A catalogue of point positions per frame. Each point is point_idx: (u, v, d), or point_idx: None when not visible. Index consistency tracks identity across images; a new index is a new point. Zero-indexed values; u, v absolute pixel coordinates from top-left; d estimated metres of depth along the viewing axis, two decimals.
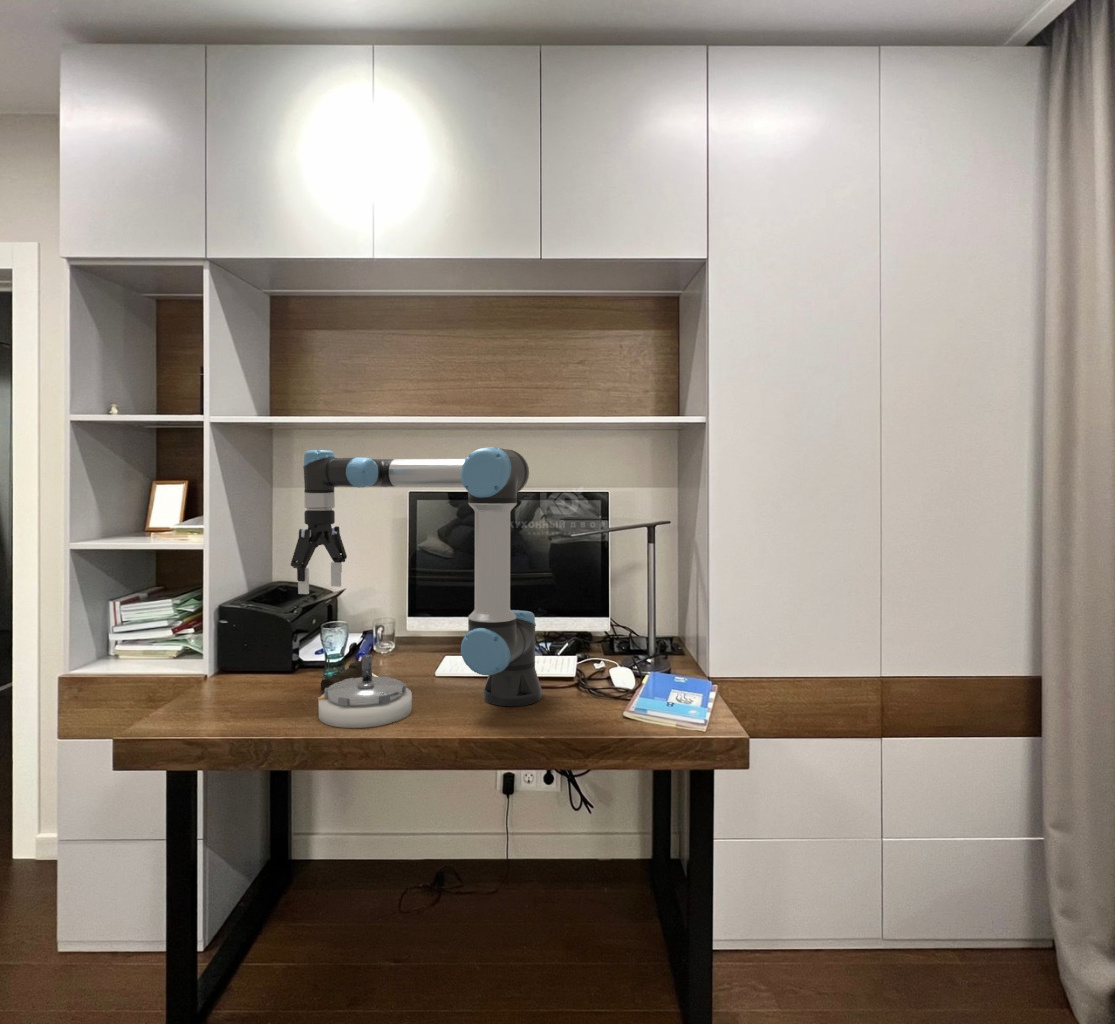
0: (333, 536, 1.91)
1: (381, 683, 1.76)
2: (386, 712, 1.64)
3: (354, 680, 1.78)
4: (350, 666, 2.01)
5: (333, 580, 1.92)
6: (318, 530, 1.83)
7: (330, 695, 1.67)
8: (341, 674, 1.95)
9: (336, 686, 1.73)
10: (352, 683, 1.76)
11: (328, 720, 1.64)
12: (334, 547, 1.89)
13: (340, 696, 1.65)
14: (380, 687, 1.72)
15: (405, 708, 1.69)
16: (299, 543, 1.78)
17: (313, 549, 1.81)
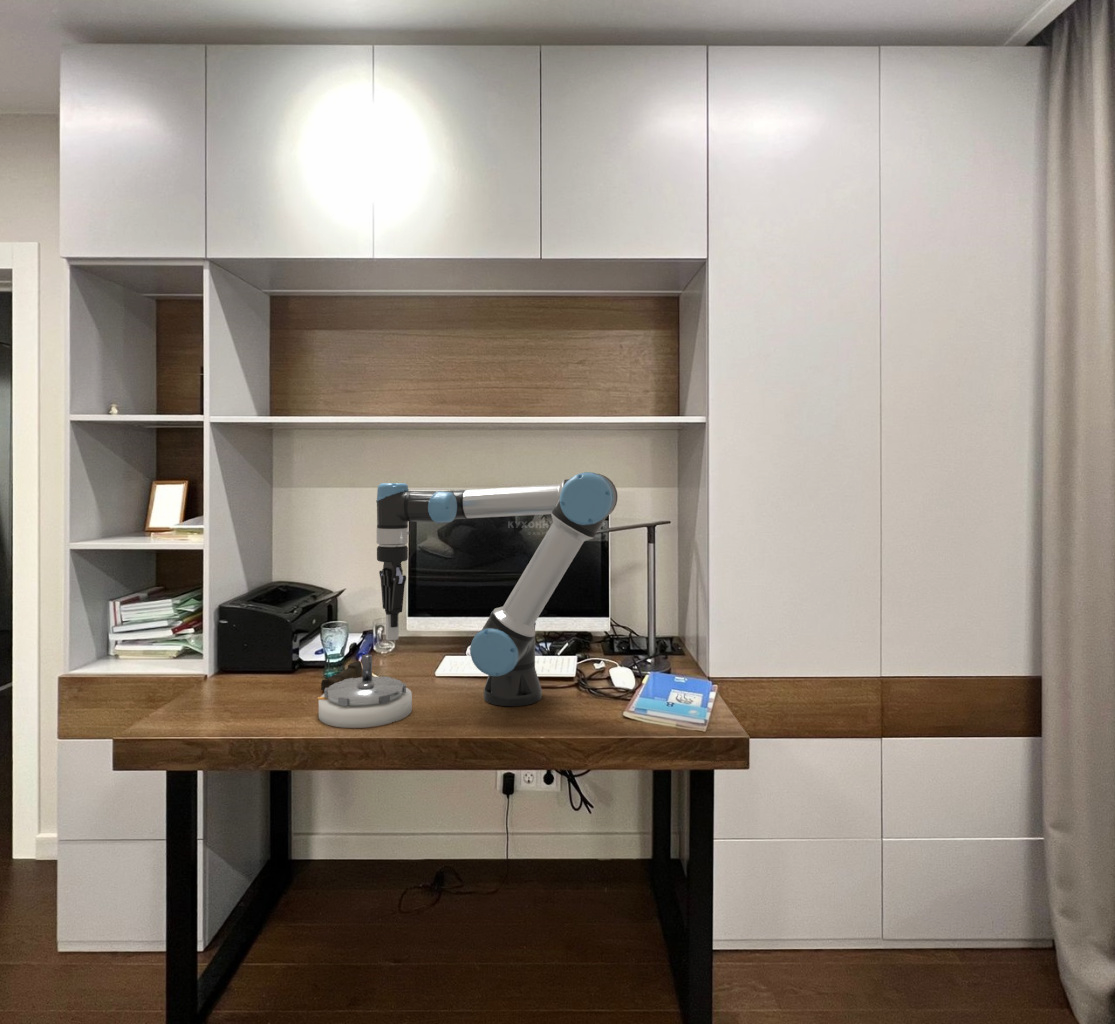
0: None
1: (381, 683, 1.76)
2: (386, 712, 1.64)
3: (354, 680, 1.78)
4: (349, 666, 2.01)
5: None
6: (384, 563, 1.77)
7: (330, 695, 1.67)
8: (341, 674, 1.95)
9: (336, 686, 1.73)
10: (352, 683, 1.76)
11: (328, 720, 1.64)
12: (389, 592, 1.74)
13: (340, 696, 1.65)
14: (380, 687, 1.72)
15: (405, 708, 1.69)
16: None
17: (385, 589, 1.76)
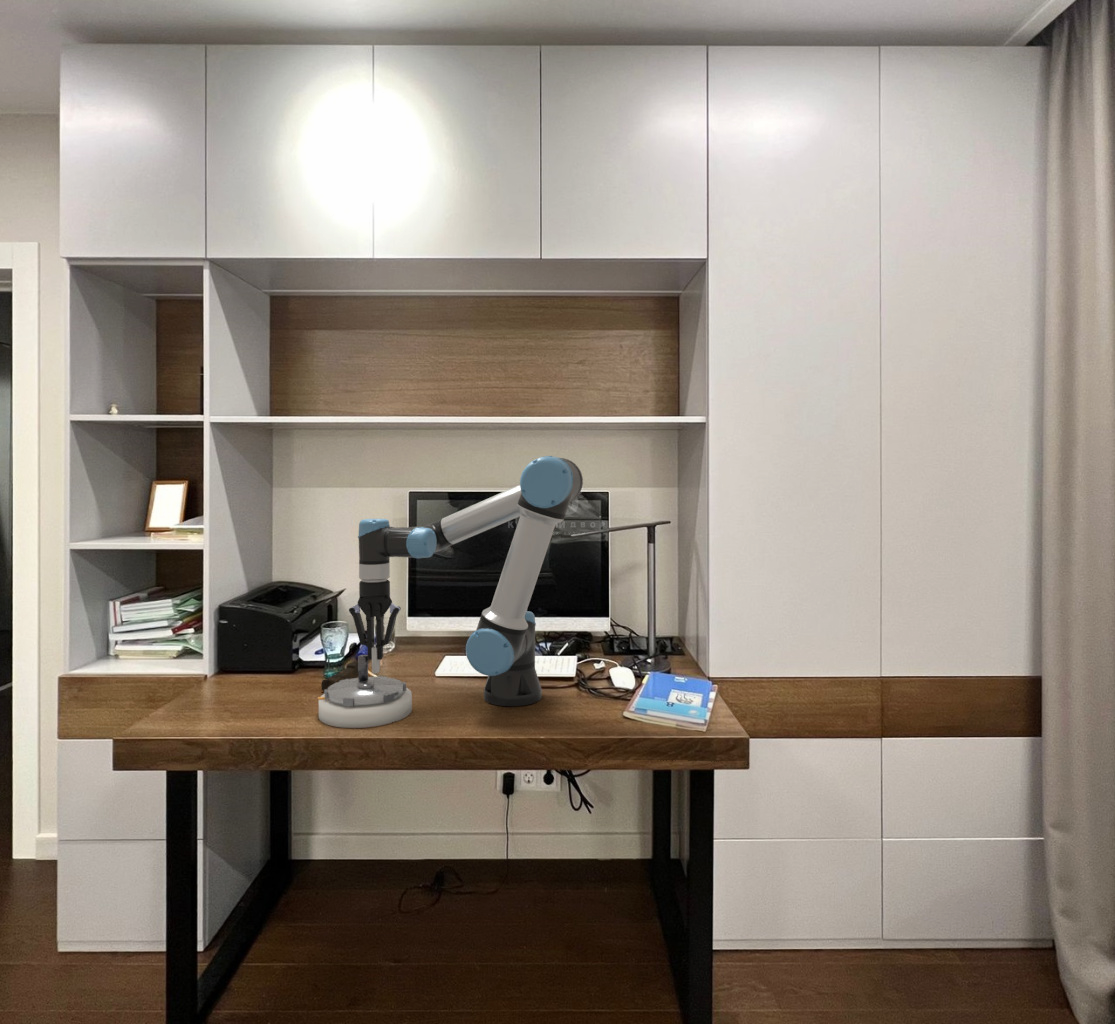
0: None
1: (380, 683, 1.76)
2: (386, 712, 1.64)
3: (350, 681, 1.77)
4: (348, 666, 2.01)
5: None
6: (363, 599, 1.77)
7: (333, 696, 1.66)
8: (341, 674, 1.95)
9: (335, 687, 1.72)
10: (350, 683, 1.75)
11: (328, 720, 1.64)
12: (378, 626, 1.78)
13: (344, 697, 1.64)
14: (380, 686, 1.73)
15: (405, 708, 1.69)
16: None
17: (369, 624, 1.78)
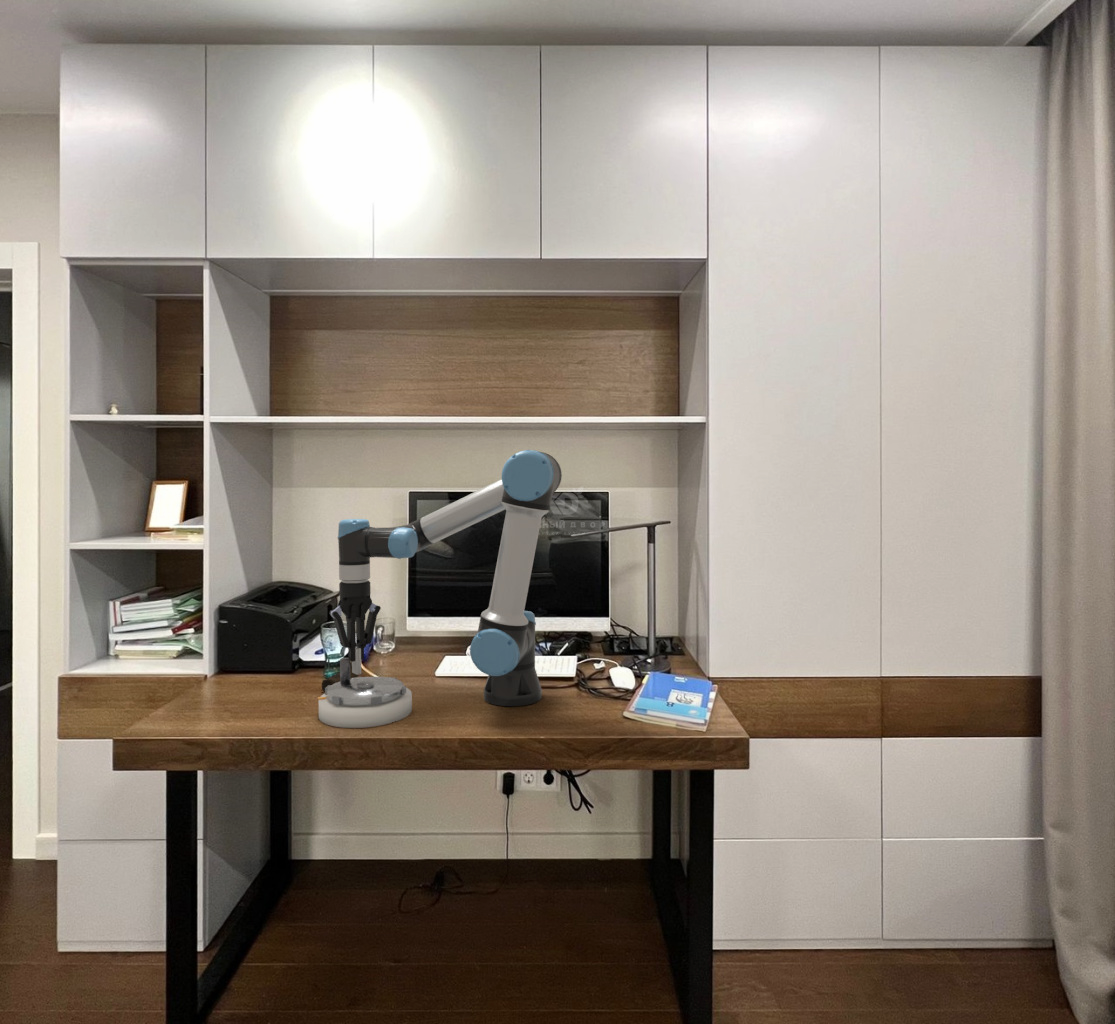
0: (370, 614, 1.80)
1: None
2: (386, 712, 1.64)
3: (337, 686, 1.73)
4: None
5: None
6: (347, 601, 1.75)
7: (354, 699, 1.64)
8: None
9: (338, 693, 1.67)
10: (343, 687, 1.72)
11: (328, 720, 1.64)
12: (362, 626, 1.78)
13: (369, 696, 1.65)
14: (379, 683, 1.75)
15: (405, 708, 1.69)
16: (336, 625, 1.75)
17: (353, 626, 1.76)
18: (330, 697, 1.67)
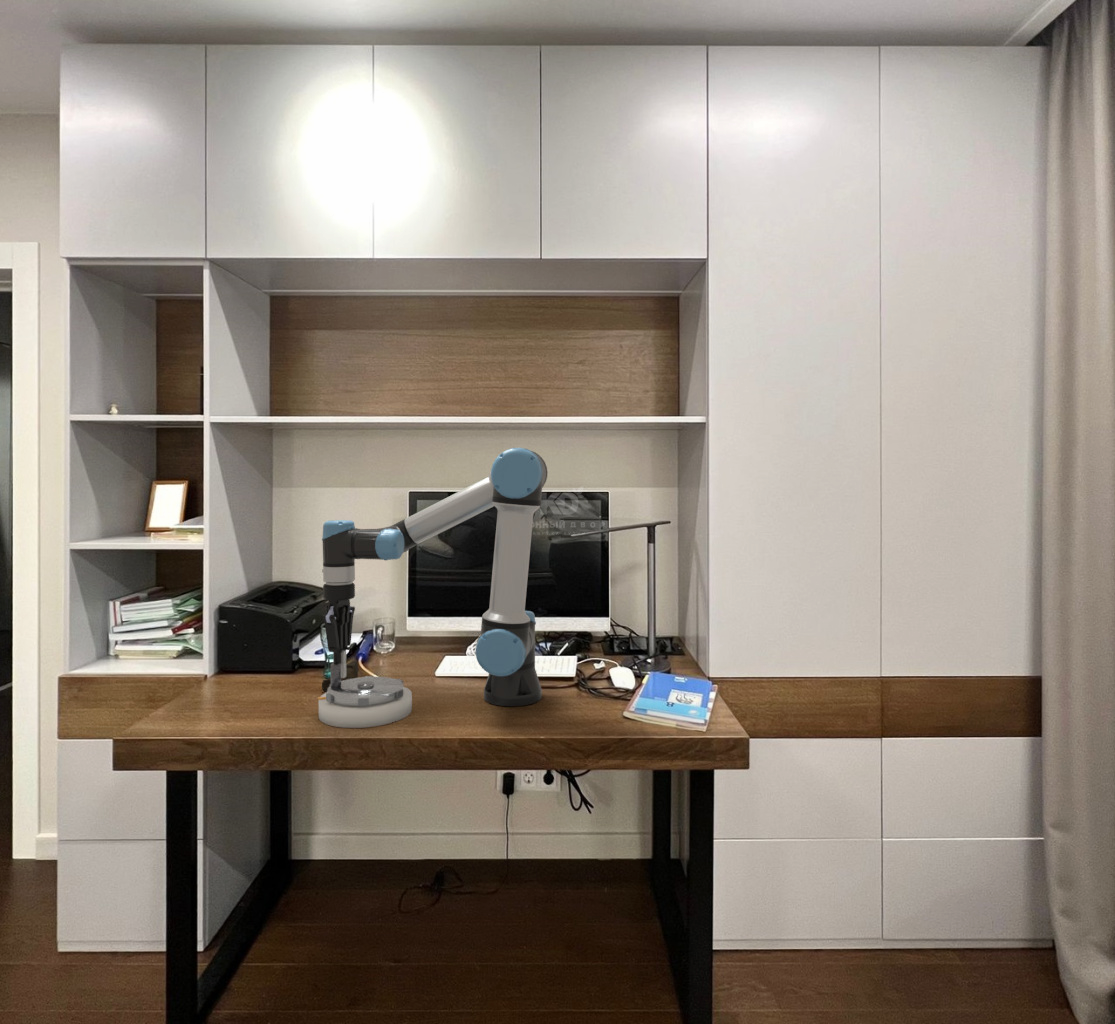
0: None
1: (357, 683, 1.76)
2: (386, 712, 1.64)
3: (337, 692, 1.68)
4: (347, 666, 2.01)
5: None
6: (338, 603, 1.72)
7: (382, 696, 1.66)
8: None
9: (356, 695, 1.65)
10: (347, 691, 1.68)
11: (328, 720, 1.64)
12: (346, 628, 1.76)
13: (393, 691, 1.69)
14: None
15: (405, 708, 1.69)
16: (328, 629, 1.70)
17: (341, 628, 1.73)
18: (350, 701, 1.64)
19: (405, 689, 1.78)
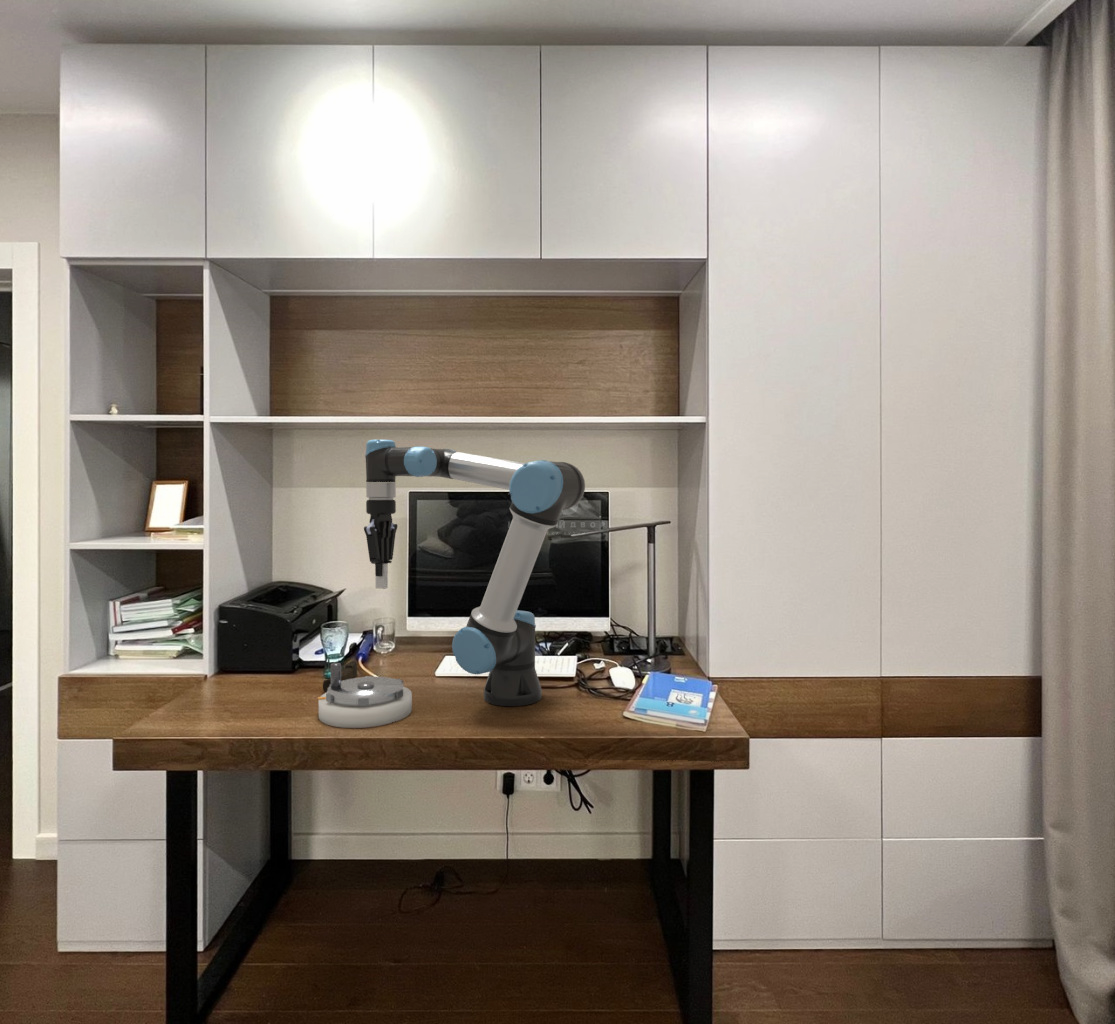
0: None
1: (357, 683, 1.76)
2: (386, 712, 1.64)
3: (337, 692, 1.68)
4: (346, 666, 2.01)
5: None
6: (379, 517, 1.83)
7: (382, 696, 1.66)
8: (341, 674, 1.95)
9: (356, 695, 1.65)
10: (347, 691, 1.68)
11: (328, 720, 1.64)
12: (387, 542, 1.86)
13: (393, 691, 1.69)
14: None
15: (405, 708, 1.69)
16: (369, 540, 1.81)
17: (382, 541, 1.84)
18: (350, 701, 1.64)
19: (405, 689, 1.78)
